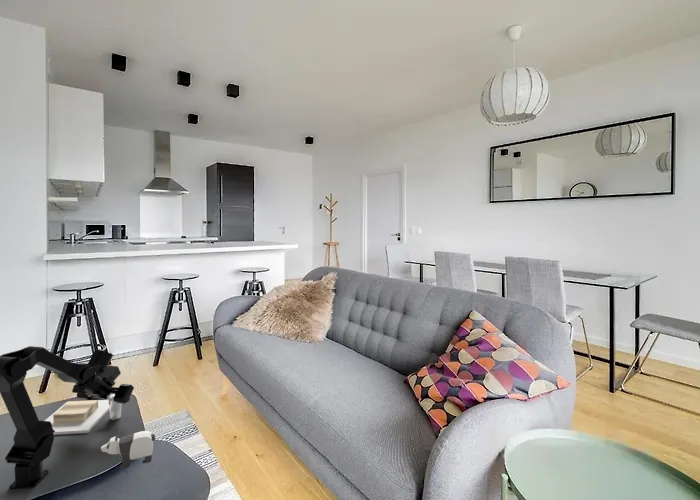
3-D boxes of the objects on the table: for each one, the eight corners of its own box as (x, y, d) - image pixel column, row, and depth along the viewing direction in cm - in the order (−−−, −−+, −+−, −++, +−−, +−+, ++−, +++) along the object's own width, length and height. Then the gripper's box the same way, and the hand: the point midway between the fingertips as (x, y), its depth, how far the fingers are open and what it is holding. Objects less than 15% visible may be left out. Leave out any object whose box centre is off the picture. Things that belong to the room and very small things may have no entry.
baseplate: (87, 432, 128) (87, 430, 128) (29, 436, 125) (29, 433, 124) (116, 401, 149) (116, 399, 149) (67, 403, 146) (67, 401, 146)
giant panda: (155, 451, 119) (155, 423, 118) (155, 462, 114) (155, 433, 113) (102, 463, 113) (101, 434, 112) (99, 474, 108) (98, 444, 107)
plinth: (84, 421, 133) (84, 413, 133) (53, 423, 131) (53, 415, 131) (98, 407, 143) (98, 400, 142) (69, 408, 141) (69, 401, 141)
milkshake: (105, 422, 134) (105, 396, 133) (110, 415, 139) (110, 390, 139) (119, 421, 135) (119, 395, 135) (124, 413, 141) (124, 389, 140)
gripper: (130, 364, 131) (150, 380, 142) (82, 360, 132) (106, 376, 144) (113, 395, 123) (136, 410, 135) (63, 390, 125) (90, 405, 137)
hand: (117, 399), depth 138 cm, fingers open, 9 cm apart
